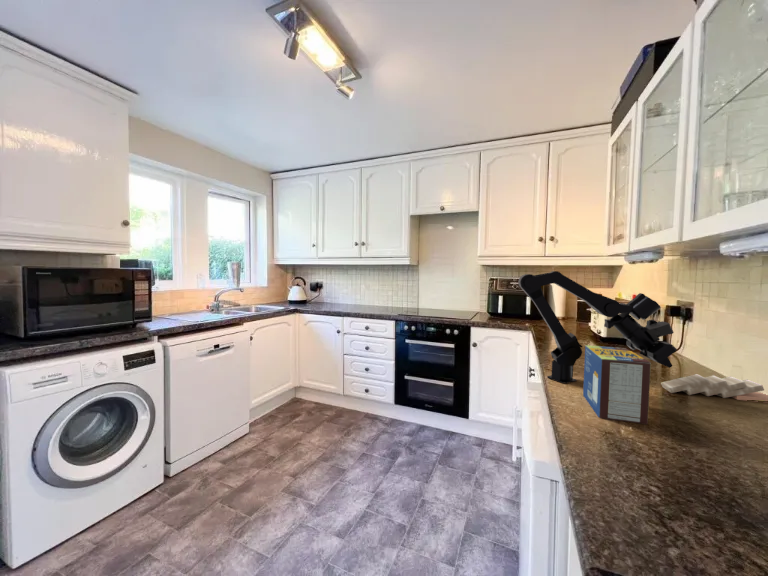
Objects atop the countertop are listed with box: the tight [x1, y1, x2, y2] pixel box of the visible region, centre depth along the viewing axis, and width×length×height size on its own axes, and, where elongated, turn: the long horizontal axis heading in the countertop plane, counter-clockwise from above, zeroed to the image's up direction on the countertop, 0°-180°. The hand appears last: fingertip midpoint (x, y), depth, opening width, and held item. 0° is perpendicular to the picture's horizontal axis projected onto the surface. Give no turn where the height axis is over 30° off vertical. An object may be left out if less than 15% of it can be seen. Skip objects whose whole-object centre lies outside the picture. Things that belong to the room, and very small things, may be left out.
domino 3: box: [700, 376, 747, 397], centre depth 95 cm, size 2×5×10 cm
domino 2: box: [682, 374, 728, 396], centre depth 96 cm, size 2×5×10 cm
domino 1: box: [660, 373, 710, 394], centre depth 98 cm, size 2×5×10 cm
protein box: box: [582, 344, 652, 425], centre depth 85 cm, size 10×15×16 cm
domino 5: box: [731, 391, 768, 401], centre depth 94 cm, size 2×5×10 cm
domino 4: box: [715, 379, 765, 399], centre depth 94 cm, size 2×5×10 cm
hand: (670, 366), depth 99 cm, fingers closed
